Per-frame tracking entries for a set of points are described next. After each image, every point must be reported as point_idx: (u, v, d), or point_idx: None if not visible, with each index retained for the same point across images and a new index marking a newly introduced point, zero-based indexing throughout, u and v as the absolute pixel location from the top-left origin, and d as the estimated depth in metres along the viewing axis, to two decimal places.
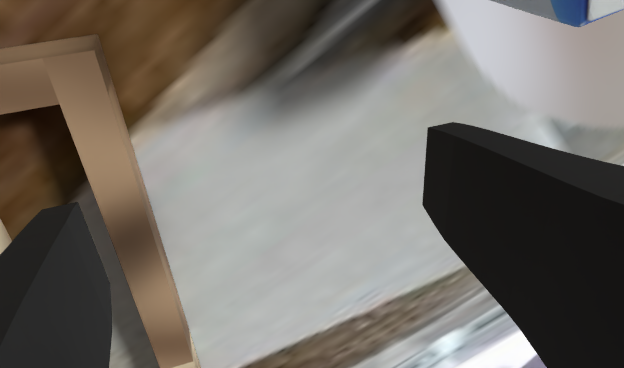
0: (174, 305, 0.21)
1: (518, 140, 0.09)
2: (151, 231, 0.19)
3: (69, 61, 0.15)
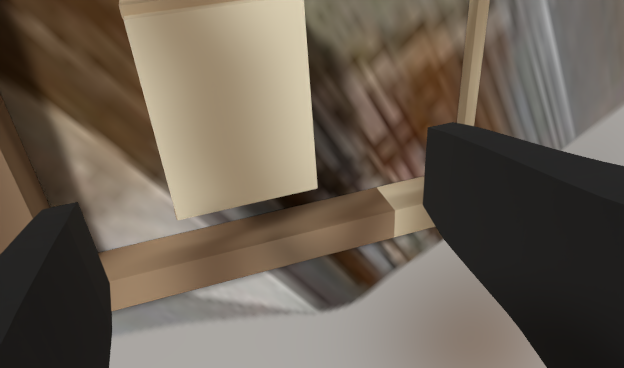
0: None
1: (519, 140, 0.09)
2: None
3: None
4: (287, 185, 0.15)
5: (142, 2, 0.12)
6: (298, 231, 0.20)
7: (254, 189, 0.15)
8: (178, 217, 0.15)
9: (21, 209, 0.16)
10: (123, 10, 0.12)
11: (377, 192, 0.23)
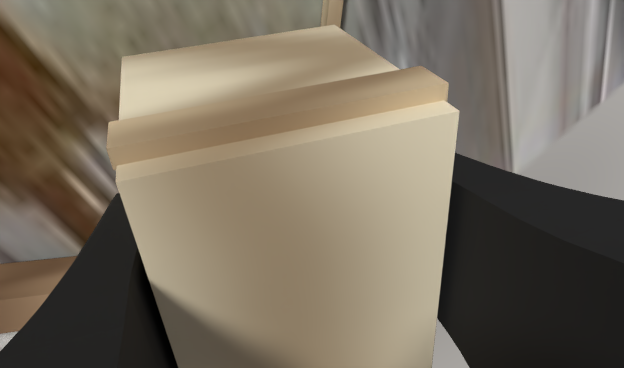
0: None
1: (455, 155, 0.08)
2: None
3: None
4: None
5: (153, 137, 0.06)
6: None
7: None
8: None
9: None
10: (115, 155, 0.06)
11: None
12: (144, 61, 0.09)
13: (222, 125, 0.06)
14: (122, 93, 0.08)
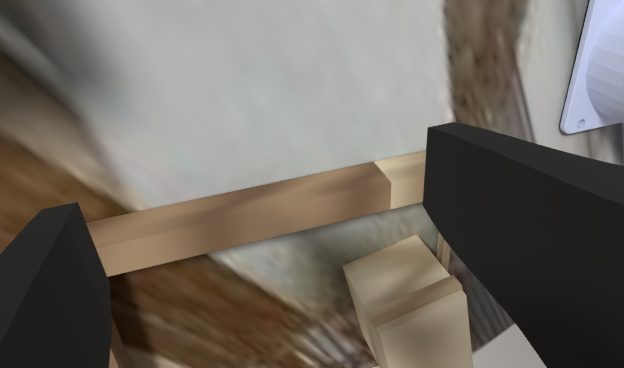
0: (310, 200, 0.21)
1: (519, 140, 0.09)
2: (217, 221, 0.20)
3: None
4: None
5: (384, 318, 0.23)
6: None
7: None
8: None
9: None
10: (375, 325, 0.23)
11: None
12: (352, 268, 0.26)
13: (401, 312, 0.23)
14: (356, 290, 0.25)
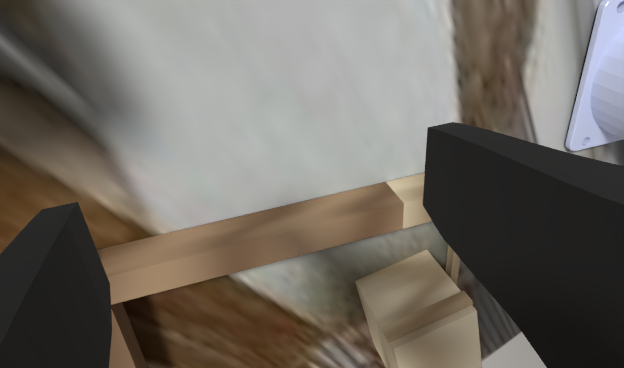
0: (326, 222, 0.22)
1: (519, 140, 0.09)
2: (237, 244, 0.21)
3: None
4: None
5: (397, 334, 0.23)
6: None
7: None
8: None
9: None
10: (389, 340, 0.23)
11: None
12: (364, 283, 0.27)
13: (414, 327, 0.24)
14: (369, 305, 0.26)
